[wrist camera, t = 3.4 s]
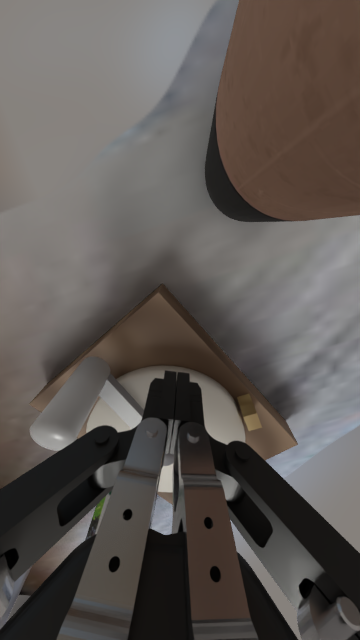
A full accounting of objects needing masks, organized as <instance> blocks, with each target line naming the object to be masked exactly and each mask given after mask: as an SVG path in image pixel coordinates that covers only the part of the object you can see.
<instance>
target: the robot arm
mask: <svg viewBox="0 0 360 640" xmlns="http://www.w3.org/2000/svg"><path fill="white" fill-rule="evenodd" d="M176 375H177V379H176ZM170 439H171V443H170ZM169 446H170V454H174V464H173V469H172V487H173V524H172V534H170V535H163V534H161V533H159V532H157V531H155V530H152V529H151V528H152V521H153V515H154V510H155V504H156V498H157V493H158V487H159V481H160V476H161V470H162V468H163V465H164V458H165V453H167V454H168V453H169ZM112 489H113V490H112ZM110 491H112V492H111V495H110V498H109V501H108V504H107V507H106V509H105V512H104V515H103V518H102V521H101V524H100V526H99V529H98V532H97V534H95V535H93V536H92V537H90V538H88V539H87V540H85V541H84V542H83V543H81V544H80V545H79V546H78V547H77V548H75V549H74V550H73V551H72V552H71V553H70V554H69V555H68V557H67V558H66V559H65V560H64V561H63V562H62V563H61V564H60V565H59V566H58V567H57V568H56V570H55V571H54V572H53V573H52V574H51V575H50V576H49V577H48V578H47V579H46V580H45V581H44V582H43V584H42V585H41V586H40V587H39V588H38V589H37V590H36V591H35V592H34V593H33V594H32V595H31V597H30V598H29V599H28V600H27V601H26V602H25V603H24V604H23V605H22V606H21V607H20V608H19V609H18V611H17V612H16V613H15V614H14V615H13V616H12V617H11V618H10V619H9V620H8V621H7V619H8V616H9V614H10V612H11V610H12V608H13V606H14V604H15V602H16V599H17V597H18V595H19V593H20V591H21V588H22V586H23V584H24V582H25V580H26V578H27V575H28V573H29V571H30V569H31V567H32V565H33V564H34V563H35V562H36V561H37V560H38V559H40V558H41V557H42V556H43V555H44V554H45V553H46V552H47V551H48V550H49V549H50V548H51V547H52V546H53V545H54V544H55V543H56V542H58V541H59V540H60V539H61V538H62V537H63V536H64V535H65V534H66V533H67V532H68V531H69V530H70V529H71V528H72V527H73V526H74V525H76V524H77V523H78V522H79V521H80V520H81V519H82V518H83V517H84V516H85V515H86V514H87V513H88V512H89V511H90V510H91V509H92V508H94V507H95V506H96V505H97V504H98V503H99V502H100V501H101V500H102V499H103V498H104V497H105V496H106V495H107V494H108V493H109V492H110ZM230 520H231V521H232V522H233V524H234V525H235V526H236V528H237V529H238V531H239V532H240V533H241V535H242V536H243V538H244V539H245V540H246V542H247V543H248V544H249V546H250V547H251V549H252V550H253V551H254V553H255V554H256V556H257V557H258V558H259V560H260V561H261V563H262V564H263V565H264V567H265V568H266V569H267V571H268V572H269V573H270V575H271V576H272V578H273V579H274V581H275V582H276V583H277V585H278V586H279V587H280V589H281V590H282V592H283V593H284V594H285V596H286V597H287V599H288V600H289V601H290V603H291V604H292V605H293V607H294V608H295V610H296V611H297V621H298V627H299V632H300V635H301V638H302V640H360V553H359V552H358V551H357V550H355V549H354V547H353V546H352V545H351V544H349V542H348V541H346V540H345V539H344V538H343V537H342V536H341V535H340V534H339V533H338V532H337V531H336V530H335V529H334V528H333V527H332V526H331V525H330V524H329V523H328V522H327V521H326V520H325V519H324V518H323V517H322V516H321V515H320V514H319V513H318V512H317V511H316V510H315V509H314V508H313V507H312V506H311V505H310V504H309V503H308V502H307V501H306V500H305V499H304V498H303V497H302V496H300V495H299V494H298V493H297V492H296V491H295V490H294V489H293V488H292V487H291V486H290V485H289V484H288V483H287V482H286V481H285V480H284V479H283V478H282V477H281V476H280V475H279V474H278V473H277V472H276V471H275V470H274V469H273V468H272V467H271V466H270V465H269V464H268V463H267V462H266V461H265V460H264V459H263V458H262V457H261V456H260V455H259V454H258V453H257V452H256V451H254V450H253V449H252V448H251V447H250V446H249V445H248V444H246V443H244V442H242V441H231V442H230V443H229V444H228V445H226V444H224V443H222V442H219V441H217V440H215V439H214V438H212V437H211V436H210V435H209V434H208V432H207V430H206V428H205V424H204V413H203V403H202V392H201V388H200V386H199V385H198V383H195V382H190V374H189V373H184V372H178V373H177V372H175V371H166V370H165V374H164V379H161V378H155V379H154V380H153V381H152V382H151V383H150V387H149V391H148V396H147V400H146V404H145V408H144V413H143V417H142V420H141V422H140V423H139V424H138V425H137V426H136V427H135V428H133V429H131V430H128V431H123V432H117V430H116V429H115V428H114V427H112V426H108V425H102V426H98V427H96V428H94V429H92V430H91V431H89V432H88V433H86V434H85V435H83V436H82V437H80V438H78V439H77V440H75V441H74V442H72V443H71V444H69V445H68V446H66V447H65V448H63V449H62V450H60V451H59V452H57V453H56V454H54V455H52V456H51V457H49V458H48V459H46V460H45V461H43V462H42V463H40V464H39V465H37V466H36V467H34V468H33V469H31V470H29V471H28V472H26V473H25V474H23V475H22V476H20V477H19V478H17V479H16V480H14V481H13V482H11V483H10V484H8V485H6V486H5V487H3V488H2V489H0V640H298V639H297V637H296V636H295V634H294V633H293V631H292V630H291V628H290V627H289V625H288V623H287V622H286V620H285V619H284V617H283V616H282V614H281V613H280V611H279V610H278V608H277V607H276V605H275V603H274V602H273V600H272V599H271V597H270V596H269V594H268V593H267V591H266V589H265V588H264V586H263V585H262V583H261V582H260V580H259V579H258V577H257V576H256V574H255V572H254V571H253V570H252V568H251V567H250V566H249V564H248V563H247V562H246V560H245V559H243V557H242V556H241V555H240V554H239V553H238V552H237V551H236V546H235V541H234V537H233V532H232V527H231V522H230ZM6 621H7V622H6ZM5 623H6V624H5Z"/></svg>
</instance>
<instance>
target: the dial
mask: <svg viewBox="0 0 360 640" xmlns="http://www.w3.org/2000/svg"><path fill="white" fill-rule="evenodd" d="M165 370H166V371H175V372H177V373H178V372H184V373H189V374H190V382H195V383H198V385H199V386H200V388H201V392H202V403H203V413H204V424H205V428H206V430H207V432H208V434H209V435H210V436H211V437H212V438H214V439H215V440H217V441H219V442H222V443H224V444H226V445H228V444H229V443H230V442H231V441H242V442H244V443H245V431H244V427H243V423H242V420H241V416H240V413H239V410H238V407H237V405H236V403H235V401H234V399H233V397H232V396H231V395H230V394H229V392H228V391H227V390H226V389H225V388H224V387H223V386H222V385H221V384H219V383H218V382H216V381H215V380H214V379H212V378H210V377H208V376H207V375H205V374H203V373H200V372H197V371H195V370H191V369H188V368H184V367H177V366H162V365H161V366H150V367H145V368H140V369H137V370H134V371H131V372H128V373H126V374H124V375H122V376H120V377H119V378H117V379H115V378H114V377H113V375H112V374H111V373H110V367H109V365H108V364H107V362H106V361H104V360H103V359H101V358H98V357H88V358H85V359H84V360H83V361H82V362H81V364H80V365H79V366H78V367H77V369H76V370H75V371H74V372H73V374H72V375H71V376H70V377H69V379H68V380H67V381H66V382H65V384H64V385H63V386H62V387H61V389H60V390H59V391H58V393H57V394H56V395H55V396H54V398H53V399H52V400H51V401H50V403H49V404H48V405H47V406H46V408H45V409H44V410H43V411H42V413H41V414H40V415H39V416H38V418H37V419H36V420H35V422H34V423H33V424H32V425H31V427H30V435H31V437H32V438H33V440H34V441H35V442H36V443H37V444H39V445H40V446H42V447H44V448H46V449H49V450H55V451H60V450H62V449H63V448H65V447H66V446H68V445H69V444H71V443H72V442H74V441H75V440H76V438H77V436H78V434H79V432H80V430H81V428H82V426H83V424H84V423H85V421H86V419H87V417H88V415H89V413H90V411H91V409H92V407H93V405H94V404H95V402H96V400H97V398H98V396H100V397H99V399H98V401H97V403H96V405H95V407H94V409H93V411H92V413H91V415H90V417H89V420H88V423H87V428H86V433H88V432H89V431H91V430H92V429H94V428H96V427H98V426H102V425H108V426H112V427H114V428H115V429H116V430H117V432H123V431H128V430H131V429H133V428H135V427H136V426H137V425H138V424H139V423H140V422H141V420H142V417H143V413H144V408H145V404H146V400H147V396H148V391H149V387H150V383H151V382H152V381H153V380H154V379H155V378H161V379H164V374H165ZM176 379H177V375H176ZM170 443H171V439H170ZM173 464H174V454H170V446H169V453H168V454H167V453H165V458H164V465H163V468H162V470H161V476H160V481H159V487H158V492H173V487H172V469H173Z"/></svg>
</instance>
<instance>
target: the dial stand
mask: <svg viewBox="0 0 360 640" xmlns="http://www.w3.org/2000/svg"><path fill="white" fill-rule="evenodd" d="M88 357H98V358H101V359H103V360H104V361H106V362H107V364H108V365H109V367H110V373H111V374H112V375H113V377H114V378H115V379H117V378H119V377H120V376H122V375H124V374H126V373H128V372H131V371H134V370H137V369H140V368H145V367H150V366H161V365H162V366H177V367H184V368H188V369H191V370H195V371H197V372H200V373H203V374H205V375H207V376H208V377H210V378H212V379H214V380H215V381H216V382H218V383H219V384H221V385H222V386H223V387H224V388H225V389H226V390H227V391H228V392H229V394H230V395H231V396H232V397H233V399H234V401H235V403H236V405H237V407H238V410H239V413H240V416H241V420H242V423H243V427H244V431H245V443H246V444H248V445H249V446H250V447H251V448H252V449H253V450H254V451H256V452H257V453H258V454H259V455H260V456H261V457H262V458H263V459H264V460H267V459H269V458H271V457H273V456H275V455H277V454H279V453H281V452H283V451H285V450H287V449H289V448H291V447H293V446H296V445H298V443H297V441H296V439H295V438H294V436H293V434H292V432H291V430H290V428H289V426H288V424H287V422H286V421H285V420H284V419H283V417H282V416H281V415H280V414H279V413H278V412H277V411H276V410H275V409H274V407H273V406H272V405H271V404H270V403H269V402H268V401H267V400H266V398H265V397H264V396H263V395H262V394H261V393H260V392H259V391H258V390H257V388H256V387H255V386H254V385H253V384H252V383H251V382H250V381H249V380H248V378H247V377H246V376H245V375H244V374H243V373H242V372H241V371H240V370H239V368H238V367H237V366H236V365H235V364H234V363H233V362H232V361H231V359H230V358H229V357H228V356H227V355H226V354H225V353H224V352H223V351H222V349H221V348H220V347H219V346H218V345H217V344H216V343H215V342H214V341H213V339H212V338H211V337H210V336H209V335H208V334H207V333H206V332H205V331H204V329H203V328H202V327H201V326H200V325H199V324H198V323H197V322H196V321H195V319H194V318H193V317H192V316H191V315H190V314H189V313H188V312H187V310H186V309H185V308H184V307H183V306H182V305H181V304H180V303H179V302H178V300H177V299H176V298H175V297H174V296H173V295H172V294H171V293H170V292H169V290H168V289H167V288H166V287H165V286H164V285H163V284H161V285H160V286H159V287H158V288H157V289H156V290H155V291H153V292H152V293H151V294H150V295H149V296H148V297H147V298H145V299H144V300H143V301H142V302H141V303H140V304H138V305H137V306H136V307H135V308H134V309H133V310H132V311H130V312H129V313H128V314H127V315H126V316H125V317H124V318H122V319H121V320H120V321H119V322H118V323H117V324H116V325H114V326H113V327H112V328H111V329H110V330H109V331H108V332H106V333H105V334H104V335H103V336H102V337H101V338H99V339H98V340H97V341H96V342H95V343H94V344H93V345H91V346H90V347H89V348H88V349H87V350H86V351H85V352H83V353H82V354H81V355H80V356H79V357H78V358H77V359H75V360H74V361H73V362H72V363H71V364H70V365H69V366H67V367H66V368H65V369H64V370H63V371H62V372H60V373H59V374H58V375H57V376H56V377H55V378H54V379H52V380H51V381H50V382H49V383H48V384H47V385H46V386H45V387H44V388H43V389H42V390H41V391H40V392H39V394H38V395H37V396H36V397H35V398H34V399H33V400H32V401H31V402H30V405H31V406H33V407H34V408H35V409H37V410H38V411H40V412H41V413H42V411H43V410H44V409H45V408H46V406H47V405H48V404H49V403H50V401H51V400H52V399H53V398H54V396H55V395H56V394H57V393H58V391H59V390H60V389H61V387H62V386H63V385H64V384H65V382H66V381H67V380H68V379H69V377H70V376H71V375H72V374H73V372H74V371H75V370H76V369H77V367H78V366H79V365H80V364H81V362H82V361H83V360H84V359H85V358H88ZM99 397H100V396H98V398H97V400H96V402H95V404H94V405H93V407H92V409H91V411H90V413H89V415H88V417H87V419H86V421H85V423H84V424H83V426H82V428H81V430H80V432H79V434H78V436H77V438H80V437H82V436H83V435H85V434H86V428H87V423H88V420H89V417H90V415H91V413H92V411H93V409H94V407H95V405H96V403H97V401H98V399H99ZM157 494H158V495H159V496H161V497H162V498H164V499H165V500H166V501H168V502H169V503H171V504H172V505H173V492H158V493H157Z"/></svg>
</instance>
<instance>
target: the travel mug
mask: <svg viewBox="0 0 360 640" xmlns="http://www.w3.org/2000/svg"><path fill="white" fill-rule="evenodd" d="M205 179H206V185H207V190H208V192H209V195H210V197H211V199H212V201H213V203H214V204H215V206H216V207H217V208H218V209H219V210H220V211H221V212H222V213H223V214H225V215H226V216H228V217H230V218H232V219H235V220H238V221H244V222H276V221H306V220H316V219H325V218H335V217H344V216H354V215H360V0H239V4H238V8H237V12H236V16H235V20H234V24H233V29H232V33H231V37H230V41H229V45H228V49H227V53H226V57H225V62H224V66H223V70H222V74H221V79H220V84H219V88H218V93H217V98H216V104H215V110H214V115H213V121H212V127H211V132H210V138H209V144H208V149H207V155H206V164H205Z"/></svg>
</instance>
